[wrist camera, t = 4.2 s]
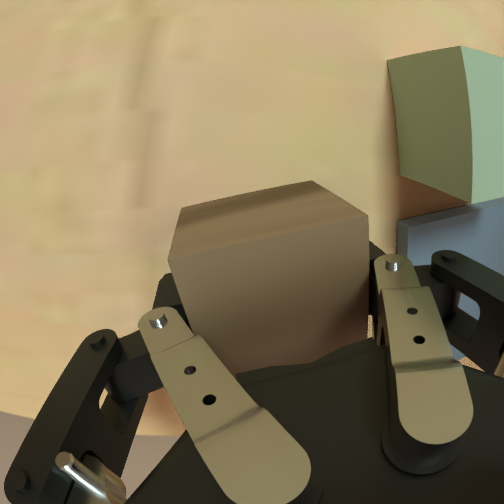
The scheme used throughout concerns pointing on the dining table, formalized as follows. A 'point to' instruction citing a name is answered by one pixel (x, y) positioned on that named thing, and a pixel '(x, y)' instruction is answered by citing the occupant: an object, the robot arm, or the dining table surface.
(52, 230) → the dining table surface
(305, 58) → the dining table surface
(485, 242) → the base board
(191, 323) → the walnut block
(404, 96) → the sage green block
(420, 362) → the robot arm
